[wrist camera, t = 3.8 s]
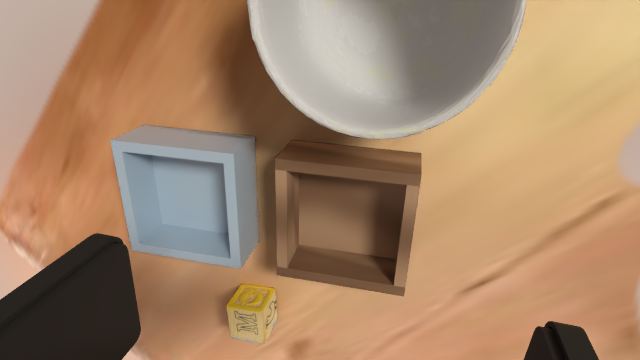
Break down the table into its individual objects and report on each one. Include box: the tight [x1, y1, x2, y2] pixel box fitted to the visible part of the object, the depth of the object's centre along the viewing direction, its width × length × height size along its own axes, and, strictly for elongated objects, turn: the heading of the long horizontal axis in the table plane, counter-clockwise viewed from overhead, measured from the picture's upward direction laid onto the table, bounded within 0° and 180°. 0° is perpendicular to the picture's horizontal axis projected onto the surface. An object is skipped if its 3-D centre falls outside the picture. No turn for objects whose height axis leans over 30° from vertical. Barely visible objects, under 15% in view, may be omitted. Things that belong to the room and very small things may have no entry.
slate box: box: [110, 125, 259, 269], centre depth 28 cm, size 8×8×4 cm
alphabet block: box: [226, 284, 277, 344], centre depth 32 cm, size 3×3×3 cm
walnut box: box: [275, 140, 421, 296], centre depth 26 cm, size 8×8×4 cm
